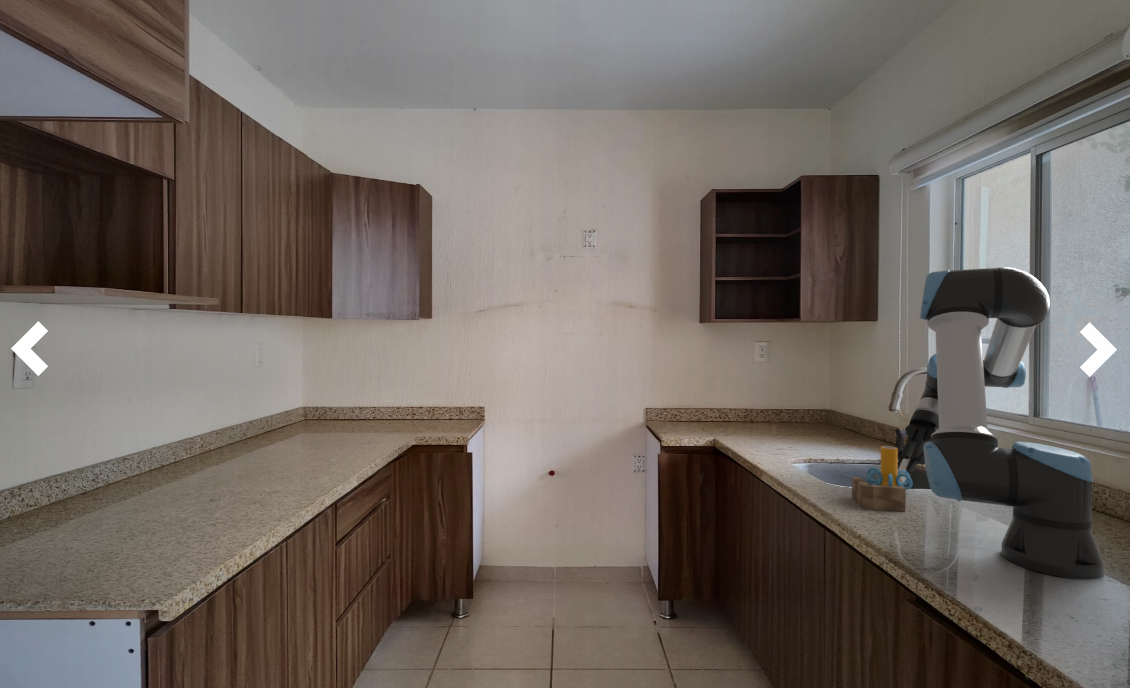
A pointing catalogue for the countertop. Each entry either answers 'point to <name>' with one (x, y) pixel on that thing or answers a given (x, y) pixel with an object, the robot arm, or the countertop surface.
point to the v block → (878, 496)
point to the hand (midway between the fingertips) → (899, 480)
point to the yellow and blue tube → (889, 470)
